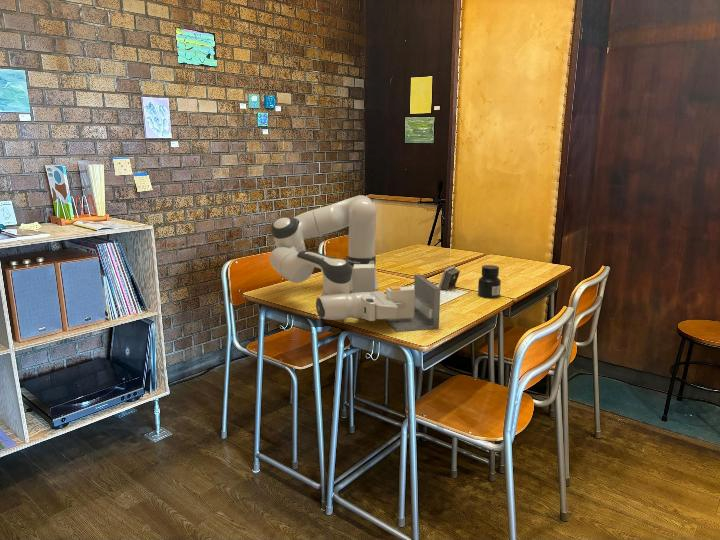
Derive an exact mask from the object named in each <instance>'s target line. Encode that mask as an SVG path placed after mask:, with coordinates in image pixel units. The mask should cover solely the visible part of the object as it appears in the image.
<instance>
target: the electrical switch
mask: <svg viewBox="0 0 720 540" xmlns="http://www.w3.org/2000/svg"><path fill="white" fill-rule="evenodd" d="M460 273H461V270H459V269H456V266H454V265H453V266H450V267H447V268H446V269H444V270H443V272H442V277H441V280H440V282H439V284H438V285H439V286H438V287H439V288H440V291H441V290H444V291H450V290H452V289H453V288H455V287H456V284H457V282H458V279H459V275H460Z"/></svg>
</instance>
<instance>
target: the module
mask: <svg viewBox="0 0 720 540" xmlns="http://www.w3.org/2000/svg"><path fill="white" fill-rule="evenodd" d="M385 295H386V297H387V298H388V299H389V300H391V301H392V302H393V303H400V302H405V303H406V307H405V308H400V309H398V316H396V317H394V318H389V319H398V318H411V317H414V302H415V289H414V287H412V286H409V285H408V286H398V285H389V287H385Z"/></svg>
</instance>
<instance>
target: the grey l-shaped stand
mask: <svg viewBox="0 0 720 540" xmlns="http://www.w3.org/2000/svg"><path fill="white" fill-rule="evenodd" d="M413 279H414V284H413V289H415V302H414V317H411V318H398V319H389V318H387V319H384V320H385V322H387V323H388V324H389V325H390V326H391V327H392V328H393V329H394V331H395V332H396V333H401V332H411V331H421V330H422V331H423V330H433V329H434V330H435V329H439V328H440V310H441V309H440V306H441V290H440V288H439V286H437V285H436V284H434V283H433V282H432V281H431V280H428V279H427V278H426V277H425V276H423V275H422V274H419V273H418V274H414V278H413Z"/></svg>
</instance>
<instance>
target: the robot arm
mask: <svg viewBox="0 0 720 540" xmlns="http://www.w3.org/2000/svg"><path fill="white" fill-rule="evenodd" d="M376 225H377V207H376V206H375V204H374V202H373V200H371V198H369V197H368V196H366V195H362V194H359V195H356V196H353V197H350V198H345V199H343V200H341V201H337V202H335V203H333V204H329V205H325V206H321V207H318V208H314V209H312V210H311V209H310V210H309V211H305V212H303V213H300V214H298V215H296V216H294V217H290V216H282V217H279V218H277V219H275V220H274V221H273V223H272V224H271V227H270V231H271V232H270V233H271V235H272V237H273V241H274V244H275V246H276V247H275V248H274V249H273V250H272V251H271V253H270V255H269V263H270V265H271V267H272V268H273V269H274V270H275V271H276V272H277V273H278V274H279V275H280V276H281V277H283V278H284V279H286V280H288V281H289V282H291V283H294V284H299V283H300V284H301V283H303V282H306V280H308V279H309V278H310V277H311V276H312V275H313V272H314V269H315V268H317V269H320V270H321V272H322V276H323V277H322V278H323V279H322V292H321V295H320V296H319V297H317V298H316V300H315V301H316V302H315V308H316V313H317V315H318V317H319V318H320V319H322V320H330V321H335V320H336V321H337V320H347V319H350V318H351V319H364V320H367V321H369V322H374V321H376V320H385V319H387V318H394V317H396V316H398V309H400V308H405V307H406V303H405V302H400V303H393V302H392V301H391V300H389V299H388V298H387V297H386V293H384V292H383V291H381V290H378V289H379V283H378V278H377V269H376V263H377V258H376V257H377V256H376V255H375V254H376V253H375V252H376V249H375V248H376ZM347 227H348V255H346V256H344V258H337V257H332V256H329V255H327V254H322V253H320V252H316V251H312V250H307V248H306V245H305V240H306V239H310V238H314V237H319V236H324V235H327V234H330V233H334V232H337V231H340V230H342V229H344V228H347ZM354 264H374V266H375V291H374V292H358V293H354V277H353V267H354Z"/></svg>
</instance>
